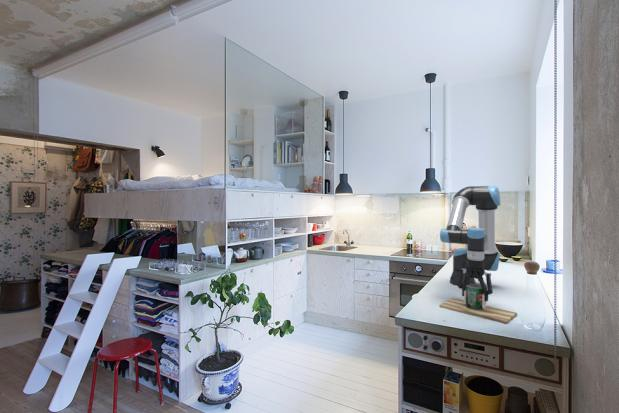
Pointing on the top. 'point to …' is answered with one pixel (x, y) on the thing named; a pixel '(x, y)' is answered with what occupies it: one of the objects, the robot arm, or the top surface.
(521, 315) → the top surface
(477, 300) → the canned tomato
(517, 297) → the top surface
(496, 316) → the board
